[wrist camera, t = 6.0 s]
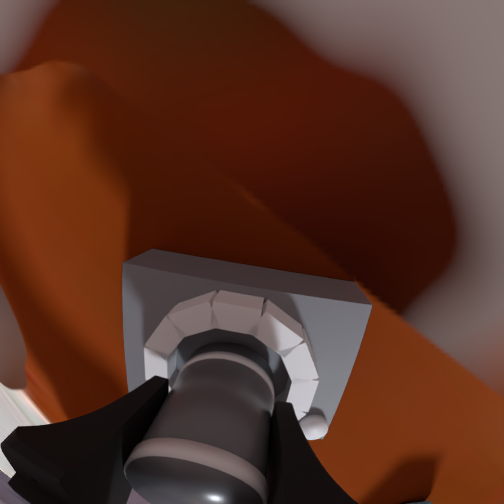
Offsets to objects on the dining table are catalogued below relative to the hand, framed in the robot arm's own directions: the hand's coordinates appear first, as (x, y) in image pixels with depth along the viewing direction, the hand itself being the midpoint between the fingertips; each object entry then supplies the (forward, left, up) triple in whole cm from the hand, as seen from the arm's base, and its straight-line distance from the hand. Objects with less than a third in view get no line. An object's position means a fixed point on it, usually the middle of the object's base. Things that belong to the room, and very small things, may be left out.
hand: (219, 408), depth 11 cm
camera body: (0, 0, -7) cm, 7 cm away
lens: (0, 0, -2) cm, 2 cm away
